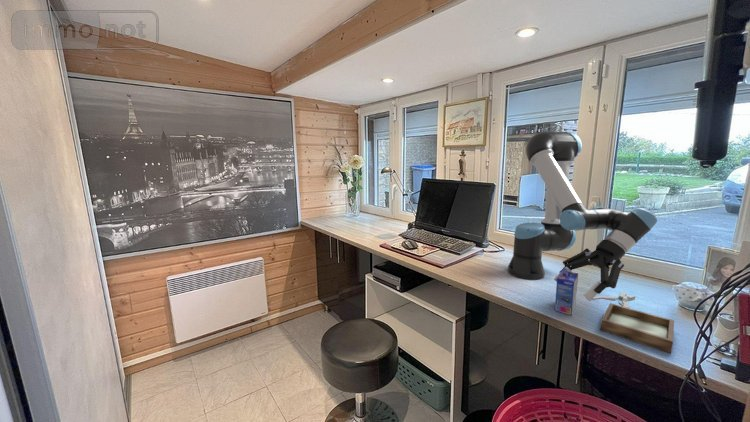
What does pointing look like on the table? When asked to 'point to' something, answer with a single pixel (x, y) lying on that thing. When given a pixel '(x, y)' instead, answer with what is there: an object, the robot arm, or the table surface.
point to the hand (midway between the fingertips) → (570, 289)
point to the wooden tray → (639, 327)
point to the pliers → (621, 297)
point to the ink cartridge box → (566, 292)
